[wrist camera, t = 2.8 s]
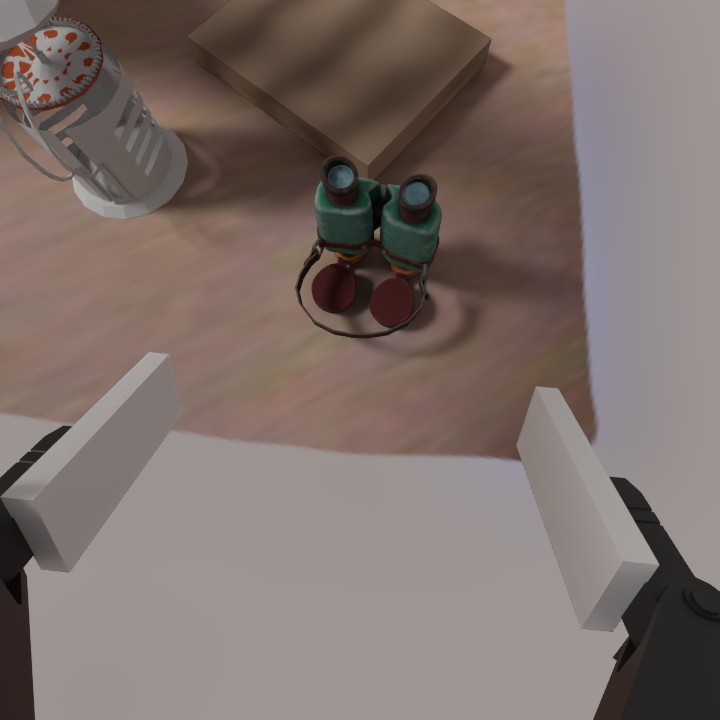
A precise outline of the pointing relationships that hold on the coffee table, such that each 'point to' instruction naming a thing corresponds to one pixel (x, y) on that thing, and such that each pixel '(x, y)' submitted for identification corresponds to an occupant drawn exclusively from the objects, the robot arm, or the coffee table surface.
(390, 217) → the binoculars
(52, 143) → the white plunger jar
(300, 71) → the walnut stand
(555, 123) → the coffee table surface
